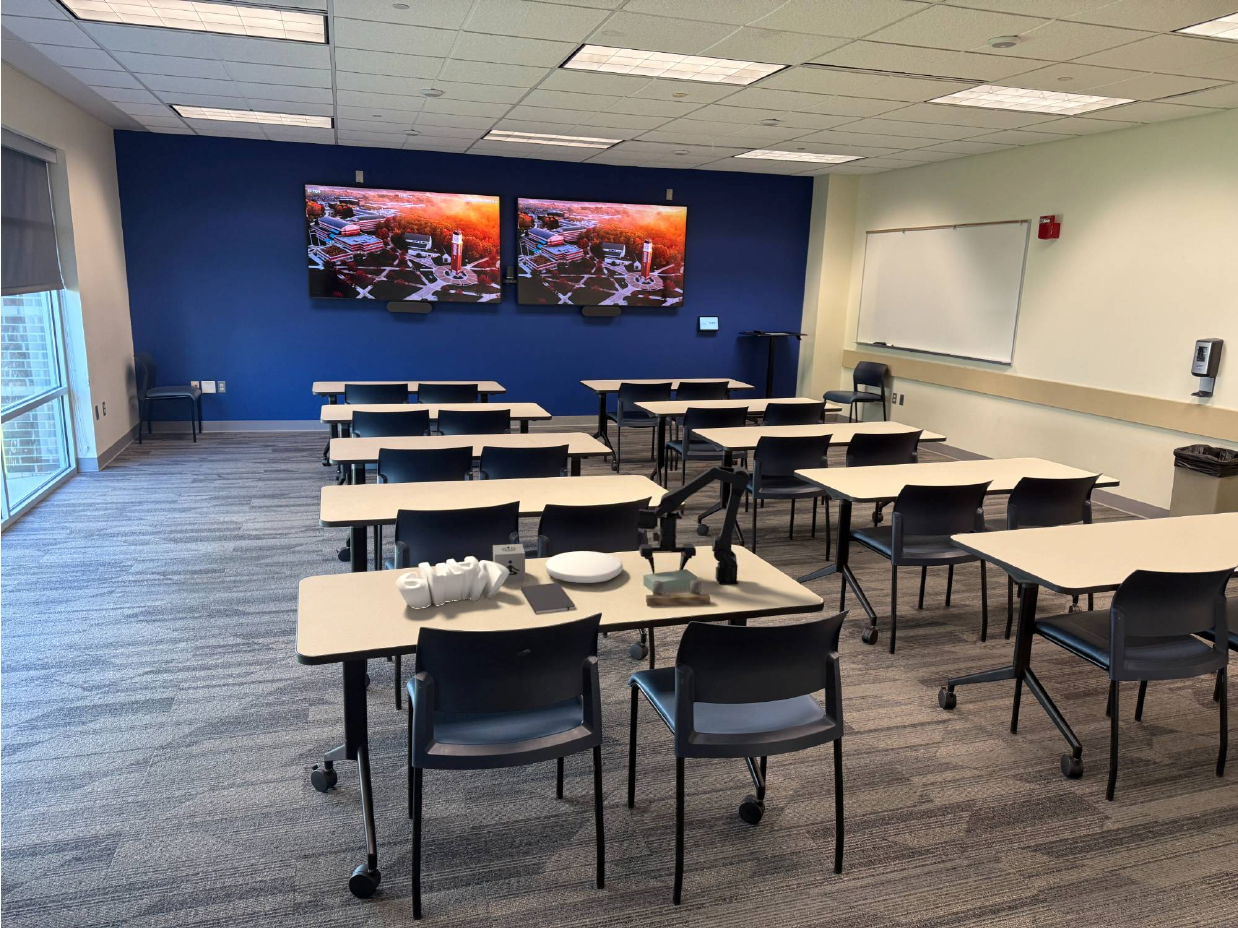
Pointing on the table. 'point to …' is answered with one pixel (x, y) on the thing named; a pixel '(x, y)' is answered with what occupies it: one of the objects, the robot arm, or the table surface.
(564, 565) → the plate
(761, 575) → the table surface
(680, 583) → the painted plate block
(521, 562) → the icon cube
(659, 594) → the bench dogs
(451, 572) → the white wavy slab sculpture
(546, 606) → the notebook
